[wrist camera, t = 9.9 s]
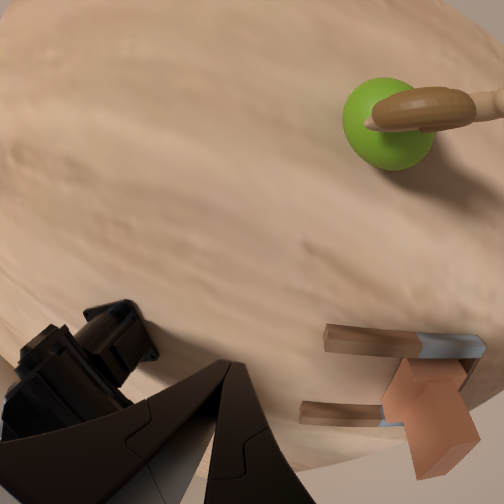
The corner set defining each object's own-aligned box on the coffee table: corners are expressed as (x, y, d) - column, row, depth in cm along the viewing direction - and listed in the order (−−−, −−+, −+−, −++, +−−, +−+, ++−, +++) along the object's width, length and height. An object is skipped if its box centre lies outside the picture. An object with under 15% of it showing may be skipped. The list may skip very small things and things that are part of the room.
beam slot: (299, 408, 25) (299, 423, 23) (326, 323, 21) (328, 338, 19) (432, 410, 23) (437, 422, 21) (477, 335, 20) (486, 347, 18)
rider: (380, 400, 23) (398, 485, 14) (404, 354, 21) (439, 445, 12) (429, 399, 22) (455, 474, 13) (455, 355, 20) (496, 432, 11)
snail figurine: (432, 157, 16) (561, 178, 5) (349, 175, 17) (430, 211, 6) (411, 82, 14) (521, 27, 3) (326, 96, 16) (370, 12, 5)
